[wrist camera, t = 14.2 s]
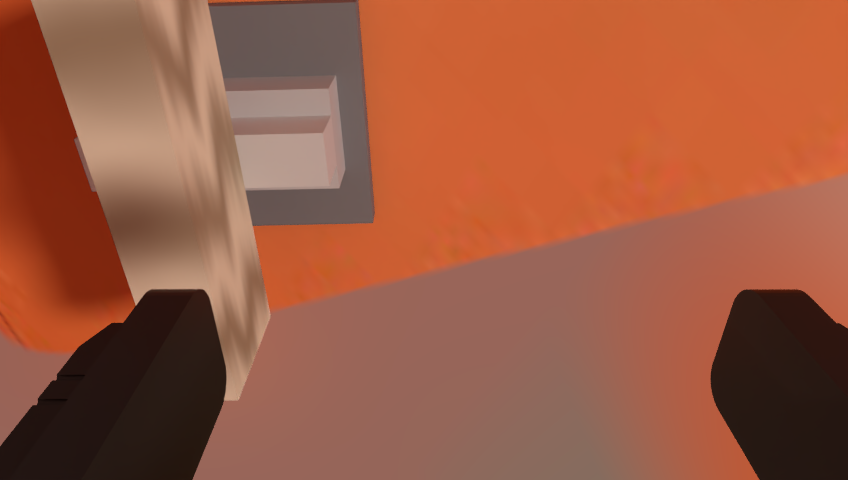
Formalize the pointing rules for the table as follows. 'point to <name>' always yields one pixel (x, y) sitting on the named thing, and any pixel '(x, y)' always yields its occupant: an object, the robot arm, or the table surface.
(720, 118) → the table surface
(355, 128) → the ridge stand
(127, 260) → the ash bar
